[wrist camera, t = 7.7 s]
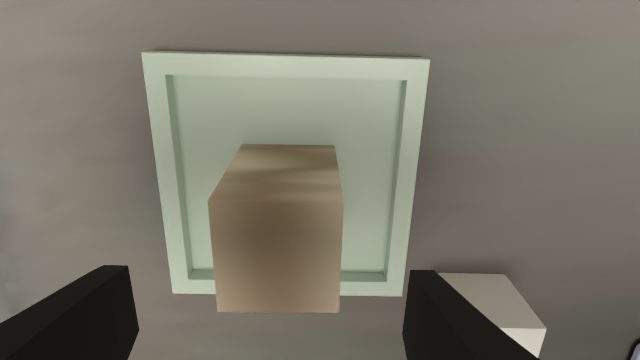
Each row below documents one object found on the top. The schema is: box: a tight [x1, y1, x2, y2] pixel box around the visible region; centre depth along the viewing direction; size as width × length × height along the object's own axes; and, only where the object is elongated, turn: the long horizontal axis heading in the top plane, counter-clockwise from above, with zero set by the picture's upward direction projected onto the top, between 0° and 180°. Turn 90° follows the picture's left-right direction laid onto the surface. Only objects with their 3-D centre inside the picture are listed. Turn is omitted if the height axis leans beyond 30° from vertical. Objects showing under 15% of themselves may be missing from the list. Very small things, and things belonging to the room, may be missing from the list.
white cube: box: [438, 273, 547, 358], centre depth 19 cm, size 4×4×4 cm
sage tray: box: [141, 51, 430, 296], centre depth 18 cm, size 11×11×1 cm
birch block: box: [207, 144, 344, 313], centre depth 15 cm, size 4×4×6 cm
